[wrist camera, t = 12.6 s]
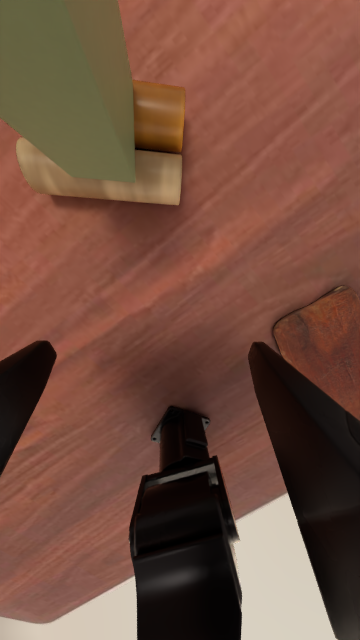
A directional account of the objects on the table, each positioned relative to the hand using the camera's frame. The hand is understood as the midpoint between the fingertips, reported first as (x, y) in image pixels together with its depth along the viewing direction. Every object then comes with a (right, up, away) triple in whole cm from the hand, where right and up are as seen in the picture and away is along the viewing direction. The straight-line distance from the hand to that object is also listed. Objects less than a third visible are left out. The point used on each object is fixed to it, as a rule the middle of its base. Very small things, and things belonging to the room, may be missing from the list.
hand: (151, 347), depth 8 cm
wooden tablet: (+23, -7, +17) cm, 29 cm away
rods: (-4, +15, +7) cm, 17 cm away
